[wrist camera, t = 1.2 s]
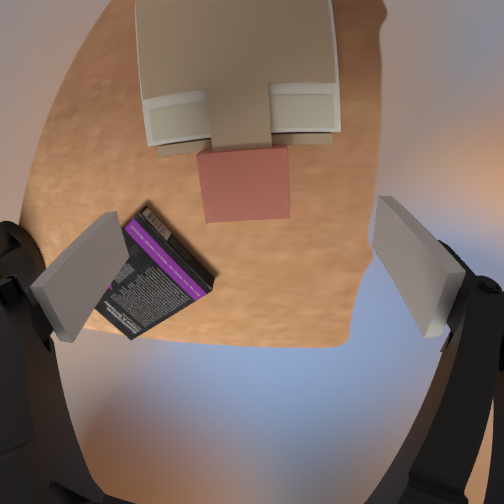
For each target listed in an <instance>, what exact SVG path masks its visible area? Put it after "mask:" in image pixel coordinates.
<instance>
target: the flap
mask: <svg viewBox="0 0 504 504" xmlns="http://www.w3.org/2000/svg"><path fill="white" fill-rule="evenodd" d="M136 22H137V41H138V56H139V68H140V79H141V89H142V98H143V100H145V99H151V98H156V97H160V96H165V95H171V94H176V93H182V92H188V91H194V90H201V89H206V93H207V104H208V113H209V123H210V132H211V142H212V149H206V150H202V151H200V152H199V153H198V154H197V163H198V170H199V178H200V185H201V192H202V199H203V206H204V212H205V219H206V223H212V222H227V221H244V220H262V219H281V218H290V198H289V167H288V148H287V146H286V144H272V139H271V123H270V109H269V94H268V83H291V82H310V83H336V76H335V61H334V48H333V37H332V28H331V19H330V11H329V3H328V0H136Z"/></svg>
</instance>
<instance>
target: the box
mask: <svg viewBox="0 0 504 504" xmlns="http://www.w3.org/2000/svg"><path fill="white" fill-rule="evenodd" d="M122 234H123V237H124V240H125V244H126V247H127V251H128V254H129V258H128V260H127V261H126V262H125V264H124V265H123V267H122V268H121V269H120V271H119V272H118V274H117V275H116V277H115V278H114V279H113V281H112V282H111V284H110V285H109V287H108V288H107V290H106V291H105V293H104V294H103V296H102V297H101V299H100V300H99V302H98V303H97V305H96V307H95V309H96V310H97V311H98V312H99V313H100V314H101V315H102V316H104V317H105V318H106V319H107V320H108V321H109V322H110V323H112V324H113V325H114V326H115V327H116V328H117V329H119V330H120V331H121V332H122V333H123V334H125V335H126V336H127V337H128V338H129V339H130V340H133V339H134V338H136V337H138V336H139V335H141V334H143V333H144V332H146V331H148V330H149V329H151V328H152V327H154V326H156V325H157V324H159V323H161V322H162V321H164V320H166V319H167V318H169V317H171V316H172V315H174V314H175V313H177V312H179V311H180V310H182V309H184V308H185V307H187V306H188V305H190V304H192V303H193V302H195V301H197V300H198V299H200V298H201V297H203V296H205V295H206V294H208V293H209V292H211V291H212V290H213V284H214V280H215V278H214V277H213V276H212V275H211V274H210V273H209V272H208V271H207V270H206V269H205V268H204V267H203V266H202V265H201V264H200V263H199V261H198V260H197V259H196V258H195V257H194V256H193V255H192V254H191V253H190V252H189V251H188V250H187V249H186V248H185V247H184V246H183V245H182V244H181V243H180V242H179V241H178V240H177V239H176V238H175V237H174V236H173V235H172V233H171V232H170V231H169V230H168V229H167V228H166V227H165V226H164V225H163V224H162V223H161V222H160V221H159V219H158V218H157V217H156V216H155V215H154V214H153V213H152V212H151V211H150V210H149V209H148V207H147V206H146V207H144V208H143V209H142V210H141V211H140V212H139V213H138V214H137V215H136V216H135V217H134V218H133V219H132V220H131V221H130V222H129V223H128V224H127V225H126V226H125V227H124V228H123V229H122Z"/></svg>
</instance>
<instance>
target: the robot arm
mask: <svg viewBox="0 0 504 504" xmlns="http://www.w3.org/2000/svg"><path fill="white" fill-rule="evenodd" d="M372 246H373V248H374V250H375V251H376V253H377V254H378V256H379V258H380V259H381V261H382V263H383V264H384V266H385V268H386V269H387V271H388V273H389V275H390V276H391V278H392V280H393V281H394V283H395V285H396V287H397V288H398V290H399V292H400V294H401V296H402V297H403V299H404V301H405V303H406V305H407V307H408V308H409V310H410V312H411V314H412V316H413V318H414V320H415V322H416V324H417V326H418V327H419V330H420V332H421V334H422V336H423V338H429V337H434V336H439V335H441V333H442V331H443V329H444V327H445V324H446V323H447V324H448V326H449V328H450V329H451V331H450V333H449V335H448V337H447V339H446V341H445V343H444V345H443V347H442V349H441V351H440V352H442V355H441V358H440V361H439V364H438V367H437V369H436V372H435V375H434V377H433V380H432V383H431V385H430V388H429V390H428V392H427V395H426V397H425V400H424V402H423V404H422V406H421V409H420V411H419V413H418V415H417V417H416V419H415V421H414V423H413V425H412V427H411V429H410V432H409V433H408V435H407V437H406V439H405V441H404V443H403V444H402V446H401V448H400V450H399V452H398V453H397V455H396V457H395V459H394V460H393V462H392V464H391V465H390V467H389V469H388V470H387V472H386V473H385V475H384V477H383V478H382V480H381V481H380V483H379V484H378V486H377V487H376V489H375V490H374V492H373V493H372V494H371V496H370V497H369V498H368V499H367V501H366V502H365V503H364V504H468V499H467V497H466V496H465V495H464V490H465V487H466V484H467V482H468V479H469V477H470V474H471V472H472V469H473V466H474V464H475V461H476V458H477V455H478V452H479V449H480V446H481V443H482V440H483V436H484V432H485V429H486V425H487V422H488V418H489V414H490V409H491V404H492V400H494V419H493V441H492V453H491V463H490V470H489V477H488V484H487V489H486V494H485V499H484V503H483V504H504V292H503V291H502V289H501V287H500V286H499V284H498V283H496V282H495V281H494V280H492V279H491V278H489V277H486V276H476V275H475V274H474V273H473V272H472V271H471V269H470V268H469V267H468V266H467V265H466V264H465V263H464V262H463V261H462V260H461V259H460V257H459V256H458V255H457V254H455V252H454V251H453V250H452V249H451V248H450V247H449V246H448V245H447V244H445V243H443V242H441V241H440V240H437V239H436V238H435V237H434V236H433V235H432V234H431V233H430V232H429V231H428V230H427V229H426V228H425V227H424V226H423V225H422V224H421V223H420V222H419V221H418V220H417V219H416V218H415V217H414V216H413V215H412V214H411V213H410V212H408V211H407V210H406V209H405V208H404V207H403V206H402V205H401V204H400V203H399V202H398V201H396V200H395V199H394V198H393V197H392V196H378V201H377V211H376V220H375V229H374V237H373V244H372ZM128 258H129V254H128V251H127V247H126V244H125V240H124V237H123V234H122V230H121V226H120V223H119V219H118V215H117V211H115V212H107V213H104V214H103V215H102V216H101V217H99V218H98V219H97V220H96V221H95V222H94V223H93V224H92V225H91V226H89V227H88V228H87V229H86V230H85V231H84V232H83V233H82V234H81V235H80V236H79V237H78V238H77V239H75V240H74V241H73V242H72V243H71V244H70V245H69V246H68V247H67V248H66V249H65V250H64V251H63V252H62V253H61V254H60V255H59V256H58V257H57V258H56V259H55V260H54V261H53V262H52V263H51V264H50V265H49V266H48V268H47V269H46V270H45V266H44V262H43V259H42V257H41V254H40V252H39V250H38V248H37V246H36V245H35V243H34V241H33V240H32V239H31V237H30V236H29V235H28V234H27V233H26V232H25V230H23V229H22V228H21V227H20V226H19V225H17V224H15V223H13V222H10V221H3V222H0V504H135V503H131V502H128V501H124V500H121V499H118V498H115V497H112V496H109V495H106V494H105V493H104V492H103V491H102V490H101V489H100V487H99V486H98V485H97V484H96V483H95V482H94V480H93V479H92V477H91V475H90V472H89V470H88V468H87V466H86V463H85V460H84V457H83V455H82V452H81V449H80V446H79V444H78V441H77V438H76V435H75V432H74V429H73V426H72V422H71V419H70V416H69V412H68V408H67V404H66V401H65V397H64V393H63V388H62V384H61V379H60V375H59V370H58V364H57V359H56V353H55V347H54V342H53V340H52V338H51V337H50V335H51V333H52V332H53V330H54V332H55V333H56V335H57V337H58V338H59V340H60V341H64V342H70V343H73V342H74V340H75V339H76V337H77V335H78V334H79V332H80V330H81V329H82V327H83V326H84V324H85V322H86V321H87V319H88V318H89V316H90V314H91V313H92V311H93V310H94V308H95V307H96V305H97V303H98V302H99V300H100V299H101V297H102V296H103V294H104V293H105V291H106V290H107V288H108V287H109V285H110V284H111V282H112V281H113V279H114V278H115V277H116V275H117V274H118V272H119V271H120V269H121V268H122V267H123V265H124V264H125V262H126V261H127V260H128Z"/></svg>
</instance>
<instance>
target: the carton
mask: <svg viewBox="0 0 504 504" xmlns="http://www.w3.org/2000/svg"><path fill="white" fill-rule="evenodd" d="M328 3H329V11H330V19H331V28H332V37H333V48H334V61H335V76H336V83H310V82H291V83H268V94H269V109H270V123H271V139H272V144H286V145H308V144H333V134H332V133H330V132H341V120H340V90H339V71H338V57H337V45H336V35H335V25H334V17H333V9H332V1H331V0H328ZM135 25H136V44H137V58H138V70H139V80H140V90H141V99H142V107H143V115H144V122H145V130H146V136H147V143H148V146H154V145H159V146H158V147H156V148H157V155H158V157H162V156H169V155H176V154H184V153H191V152H200V151H202V150H206V149H212V142H211V132H210V123H209V113H208V104H207V93H206V89H201V90H194V91H188V92H182V93H176V94H171V95H165V96H160V97H156V98H151V99H145V100H143V98H142V89H141V79H140V68H139V56H138V41H137V22H136V4H135ZM160 144H161V145H160Z"/></svg>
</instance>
